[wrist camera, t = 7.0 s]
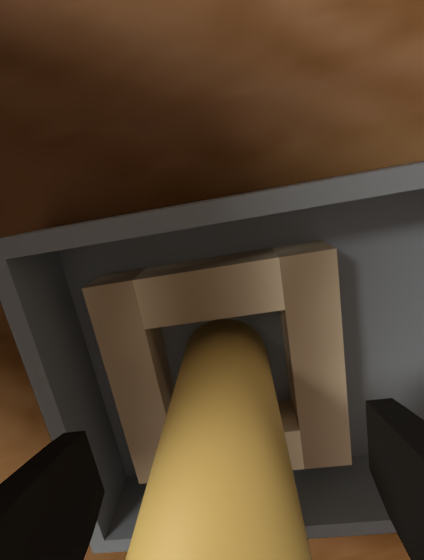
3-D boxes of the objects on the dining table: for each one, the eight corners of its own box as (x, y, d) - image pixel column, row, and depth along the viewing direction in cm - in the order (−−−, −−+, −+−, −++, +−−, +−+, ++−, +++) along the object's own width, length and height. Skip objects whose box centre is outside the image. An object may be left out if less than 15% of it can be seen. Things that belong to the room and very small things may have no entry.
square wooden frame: (320, 239, 11) (336, 248, 9) (336, 430, 13) (352, 464, 11) (102, 274, 12) (81, 288, 10) (149, 449, 14) (139, 483, 12)
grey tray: (498, 147, 10) (611, 129, 7) (480, 446, 14) (554, 521, 10) (43, 228, 12) (-22, 242, 9) (121, 479, 15) (93, 553, 12)
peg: (259, 312, 12) (312, 538, 4) (272, 386, 13) (336, 688, 5) (177, 326, 12) (85, 558, 5) (194, 396, 13) (142, 693, 5)
